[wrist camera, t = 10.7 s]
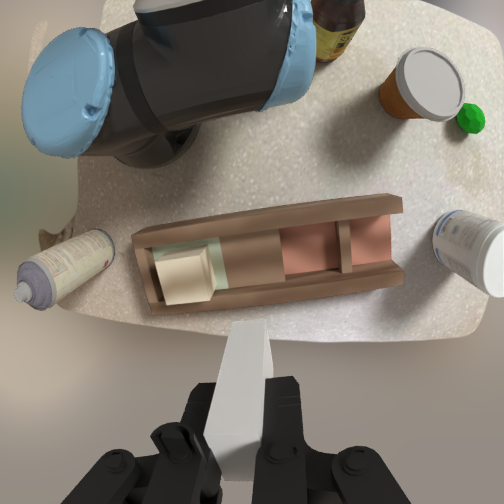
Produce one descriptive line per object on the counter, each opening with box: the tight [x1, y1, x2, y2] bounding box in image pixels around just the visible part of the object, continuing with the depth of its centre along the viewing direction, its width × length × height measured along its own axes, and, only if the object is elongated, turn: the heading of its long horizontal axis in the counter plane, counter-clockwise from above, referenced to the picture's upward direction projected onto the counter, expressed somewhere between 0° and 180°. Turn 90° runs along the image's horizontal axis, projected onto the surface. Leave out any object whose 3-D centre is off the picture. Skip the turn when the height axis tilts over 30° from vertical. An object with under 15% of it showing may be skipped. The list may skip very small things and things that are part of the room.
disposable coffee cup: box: [379, 47, 465, 122], centre depth 30 cm, size 10×10×12 cm
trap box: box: [131, 193, 404, 315], centre depth 41 cm, size 12×36×6 cm, turn 99°
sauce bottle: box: [311, 0, 365, 62], centre depth 25 cm, size 6×6×20 cm
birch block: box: [155, 245, 217, 305], centre depth 40 cm, size 6×6×5 cm
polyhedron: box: [457, 103, 485, 134], centre depth 33 cm, size 5×5×5 cm
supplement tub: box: [432, 209, 504, 298], centre depth 34 cm, size 10×10×15 cm
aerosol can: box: [13, 229, 115, 311], centre depth 36 cm, size 7×7×20 cm
